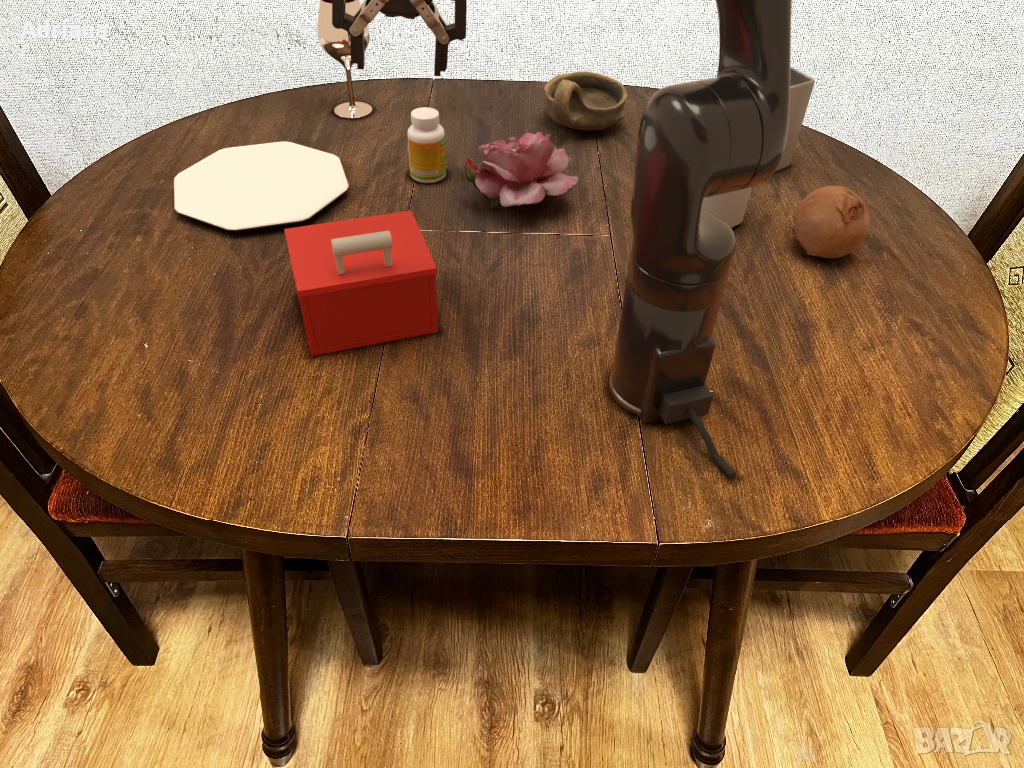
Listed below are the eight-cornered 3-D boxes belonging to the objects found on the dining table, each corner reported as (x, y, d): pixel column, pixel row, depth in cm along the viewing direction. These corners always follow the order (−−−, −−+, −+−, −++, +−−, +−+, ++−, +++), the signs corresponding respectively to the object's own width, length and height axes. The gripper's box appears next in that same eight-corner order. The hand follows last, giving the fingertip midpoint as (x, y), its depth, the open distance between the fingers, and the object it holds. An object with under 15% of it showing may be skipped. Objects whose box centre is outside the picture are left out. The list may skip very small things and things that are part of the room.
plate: (176, 162, 116) (173, 153, 115) (333, 144, 121) (331, 135, 120) (177, 247, 99) (174, 237, 98) (359, 221, 105) (357, 211, 104)
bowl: (637, 118, 131) (645, 59, 124) (592, 159, 120) (598, 97, 113) (566, 99, 136) (570, 41, 129) (516, 137, 125) (518, 76, 118)
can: (742, 236, 105) (764, 155, 97) (687, 229, 106) (705, 148, 98) (741, 208, 110) (762, 129, 102) (689, 202, 111) (706, 123, 103)
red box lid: (437, 274, 82) (435, 235, 78) (298, 297, 78) (290, 258, 75) (411, 216, 90) (409, 179, 87) (285, 235, 86) (277, 197, 83)
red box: (438, 332, 89) (435, 269, 82) (310, 356, 85) (297, 292, 79) (416, 277, 96) (411, 216, 90) (298, 297, 93) (285, 235, 86)
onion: (837, 281, 103) (886, 242, 94) (774, 257, 102) (816, 215, 93) (844, 226, 107) (891, 183, 98) (783, 202, 106) (825, 157, 97)
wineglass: (355, 125, 126) (341, 10, 114) (318, 113, 129) (300, -1, 117) (387, 108, 131) (376, -4, 119) (351, 96, 134) (337, -14, 122)
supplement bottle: (448, 183, 113) (445, 120, 107) (411, 185, 113) (407, 122, 106) (444, 165, 117) (442, 103, 110) (409, 167, 116) (404, 105, 110)
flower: (600, 189, 107) (586, 120, 102) (519, 235, 102) (500, 165, 96) (537, 175, 118) (521, 112, 113) (461, 216, 113) (440, 152, 107)
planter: (788, 190, 114) (829, 59, 101) (735, 182, 116) (768, 51, 102) (790, 142, 126) (826, 19, 113) (741, 135, 127) (771, 13, 114)
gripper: (323, -89, 71) (332, 80, 83) (475, -72, 73) (463, 90, 85) (330, -112, 76) (338, 50, 88) (472, -96, 78) (461, 60, 90)
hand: (399, 69), depth 86 cm, fingers open, 8 cm apart
